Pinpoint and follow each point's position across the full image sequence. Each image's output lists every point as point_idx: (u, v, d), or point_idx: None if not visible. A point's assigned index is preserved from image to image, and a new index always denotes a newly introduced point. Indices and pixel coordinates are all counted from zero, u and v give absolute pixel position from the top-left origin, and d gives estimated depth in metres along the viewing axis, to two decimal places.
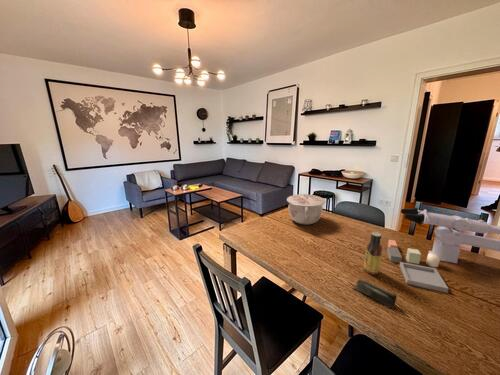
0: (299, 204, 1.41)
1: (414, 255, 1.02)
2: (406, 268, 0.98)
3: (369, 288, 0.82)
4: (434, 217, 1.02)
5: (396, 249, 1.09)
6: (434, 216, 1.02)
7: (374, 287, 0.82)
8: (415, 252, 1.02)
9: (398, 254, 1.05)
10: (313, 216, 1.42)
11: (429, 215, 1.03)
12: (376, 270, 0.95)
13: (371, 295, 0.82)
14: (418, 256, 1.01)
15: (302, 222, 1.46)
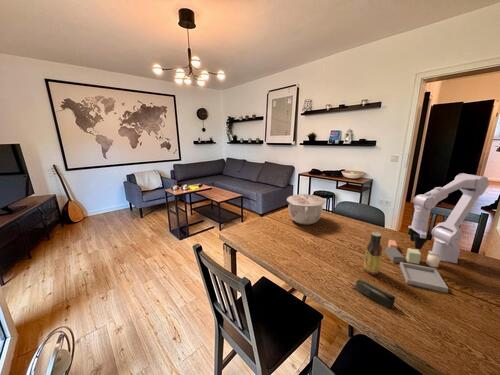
0: (299, 204, 1.41)
1: (414, 255, 1.02)
2: (406, 268, 0.98)
3: (368, 288, 0.82)
4: (417, 223, 0.98)
5: (394, 249, 1.10)
6: (416, 223, 0.98)
7: (373, 287, 0.82)
8: (415, 252, 1.02)
9: (399, 254, 1.05)
10: (313, 216, 1.42)
11: (415, 226, 0.99)
12: (376, 270, 0.95)
13: (370, 295, 0.82)
14: (418, 256, 1.01)
15: (302, 222, 1.46)
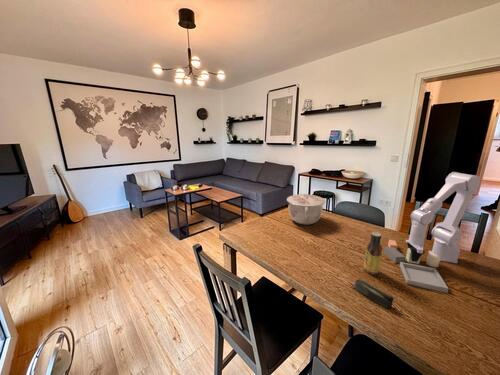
0: (299, 204, 1.41)
1: None
2: (406, 268, 0.98)
3: (366, 288, 0.82)
4: (414, 238, 1.00)
5: (393, 248, 1.10)
6: (413, 237, 1.00)
7: (371, 287, 0.82)
8: None
9: (399, 254, 1.05)
10: (313, 216, 1.42)
11: (412, 241, 1.01)
12: (376, 270, 0.95)
13: (368, 295, 0.82)
14: None
15: (302, 222, 1.46)
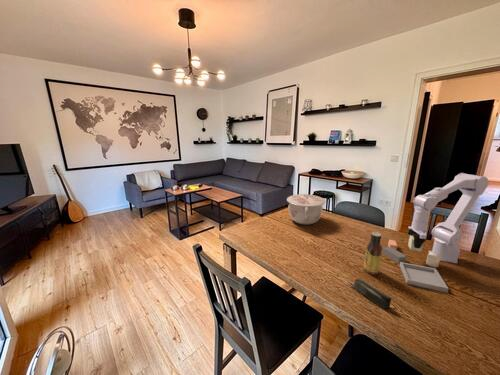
0: (299, 204, 1.41)
1: None
2: (406, 268, 0.98)
3: (365, 287, 0.83)
4: (417, 223, 0.98)
5: (391, 248, 1.10)
6: (416, 223, 0.98)
7: (370, 287, 0.82)
8: None
9: (400, 253, 1.05)
10: (313, 216, 1.42)
11: (415, 227, 0.99)
12: (376, 270, 0.95)
13: (366, 295, 0.83)
14: None
15: (302, 222, 1.46)
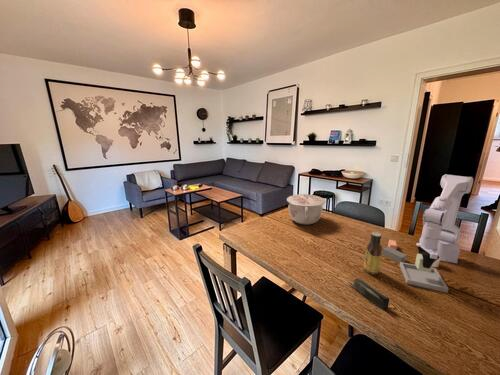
0: (299, 204, 1.41)
1: None
2: (406, 268, 0.98)
3: (363, 287, 0.83)
4: (427, 241, 0.86)
5: (390, 248, 1.10)
6: (425, 240, 0.87)
7: (368, 287, 0.82)
8: None
9: (400, 253, 1.06)
10: (313, 216, 1.42)
11: (424, 244, 0.87)
12: (376, 270, 0.95)
13: (365, 294, 0.83)
14: None
15: (302, 222, 1.46)
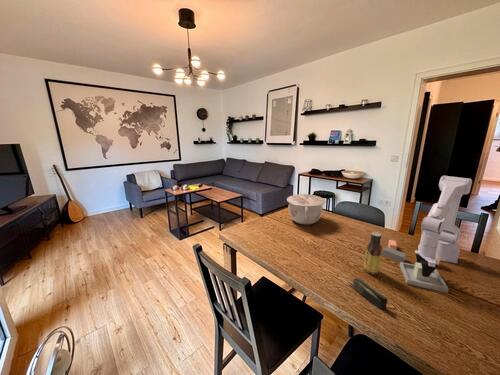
0: (299, 204, 1.41)
1: None
2: (406, 268, 0.98)
3: (362, 286, 0.83)
4: (425, 248, 0.87)
5: (389, 248, 1.10)
6: (424, 248, 0.88)
7: (367, 287, 0.82)
8: None
9: (400, 253, 1.06)
10: (313, 216, 1.42)
11: (423, 252, 0.88)
12: (376, 270, 0.95)
13: (363, 294, 0.83)
14: None
15: (302, 222, 1.46)
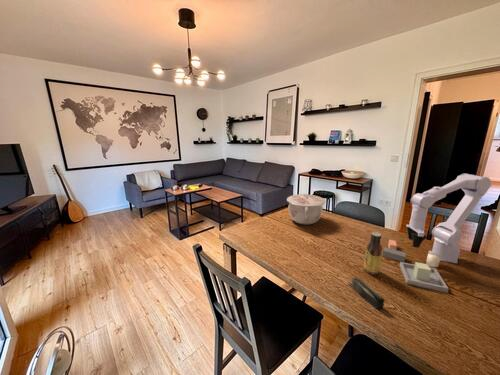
0: (299, 204, 1.41)
1: (423, 271, 0.90)
2: (406, 268, 0.98)
3: (360, 286, 0.83)
4: (415, 222, 1.00)
5: (388, 248, 1.10)
6: (414, 221, 1.00)
7: (365, 286, 0.82)
8: (424, 267, 0.90)
9: (400, 252, 1.07)
10: (313, 216, 1.42)
11: (413, 225, 1.01)
12: (376, 270, 0.95)
13: (361, 293, 0.83)
14: (428, 272, 0.89)
15: (302, 222, 1.46)
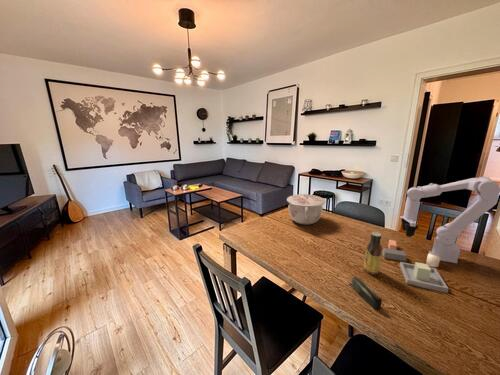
0: (299, 204, 1.41)
1: (423, 271, 0.90)
2: (406, 268, 0.98)
3: (359, 285, 0.84)
4: (408, 213, 1.09)
5: (387, 249, 1.10)
6: (407, 213, 1.09)
7: (364, 286, 0.82)
8: (424, 267, 0.90)
9: (399, 251, 1.07)
10: (313, 216, 1.42)
11: (406, 216, 1.10)
12: (376, 270, 0.95)
13: (360, 293, 0.84)
14: (428, 272, 0.89)
15: (302, 222, 1.46)
